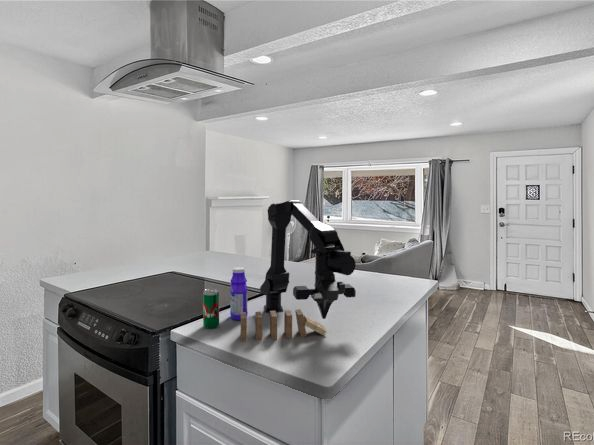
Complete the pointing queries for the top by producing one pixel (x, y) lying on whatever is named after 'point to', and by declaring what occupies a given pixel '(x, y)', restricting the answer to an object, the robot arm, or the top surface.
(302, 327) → the domino
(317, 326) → the oak domino
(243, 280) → the bottle
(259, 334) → the domino
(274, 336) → the domino
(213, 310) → the soda can
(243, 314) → the domino
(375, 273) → the top surface
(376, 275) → the top surface
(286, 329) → the domino
